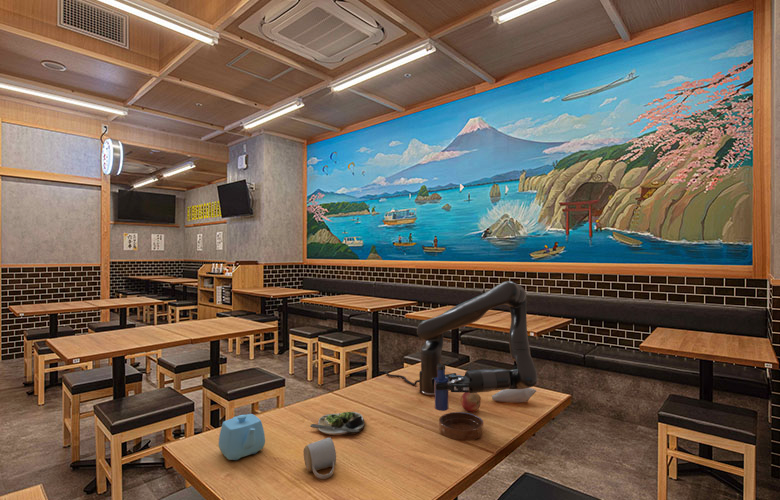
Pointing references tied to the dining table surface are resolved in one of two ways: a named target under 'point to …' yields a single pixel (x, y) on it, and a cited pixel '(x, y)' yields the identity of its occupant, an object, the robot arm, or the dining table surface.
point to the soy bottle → (441, 395)
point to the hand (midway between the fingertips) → (433, 384)
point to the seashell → (514, 395)
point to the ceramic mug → (320, 457)
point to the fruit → (470, 401)
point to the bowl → (461, 426)
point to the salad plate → (340, 423)
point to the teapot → (241, 436)
